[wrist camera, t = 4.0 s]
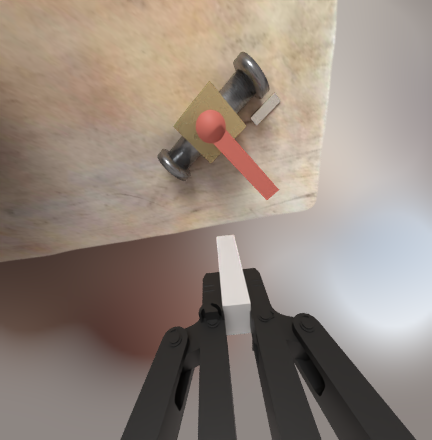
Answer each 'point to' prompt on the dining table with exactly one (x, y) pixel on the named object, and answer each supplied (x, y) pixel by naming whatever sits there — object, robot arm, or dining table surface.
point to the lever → (233, 151)
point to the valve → (224, 104)
